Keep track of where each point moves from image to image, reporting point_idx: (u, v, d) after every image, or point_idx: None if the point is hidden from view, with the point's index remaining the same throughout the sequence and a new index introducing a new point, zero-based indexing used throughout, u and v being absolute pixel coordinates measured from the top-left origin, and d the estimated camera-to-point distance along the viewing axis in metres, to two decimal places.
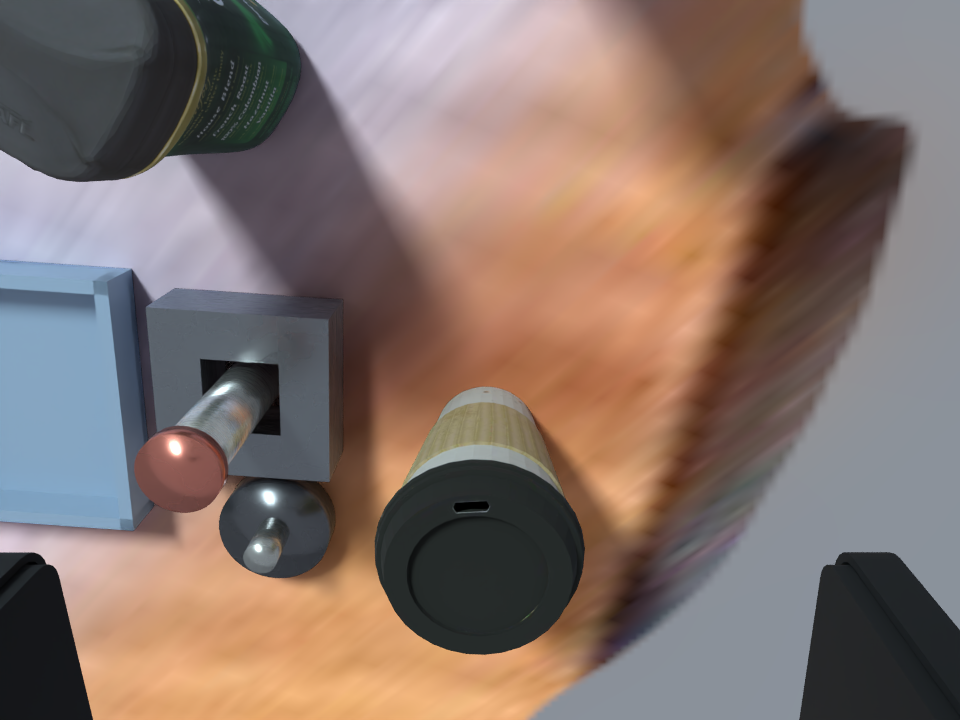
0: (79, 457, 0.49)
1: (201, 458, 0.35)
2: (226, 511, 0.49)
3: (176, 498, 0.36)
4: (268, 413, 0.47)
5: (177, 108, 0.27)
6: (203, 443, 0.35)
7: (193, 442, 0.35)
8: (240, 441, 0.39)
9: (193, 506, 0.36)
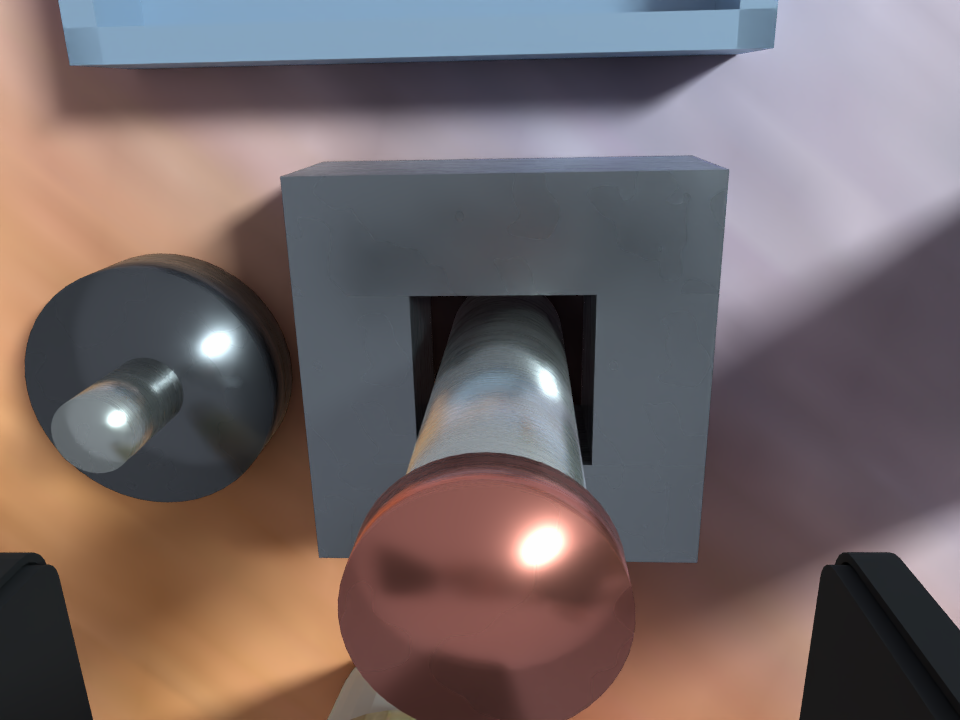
0: None
1: (552, 690, 0.11)
2: (176, 288, 0.21)
3: (391, 608, 0.10)
4: (428, 369, 0.22)
5: None
6: (600, 683, 0.11)
7: (610, 673, 0.11)
8: None
9: (368, 654, 0.11)
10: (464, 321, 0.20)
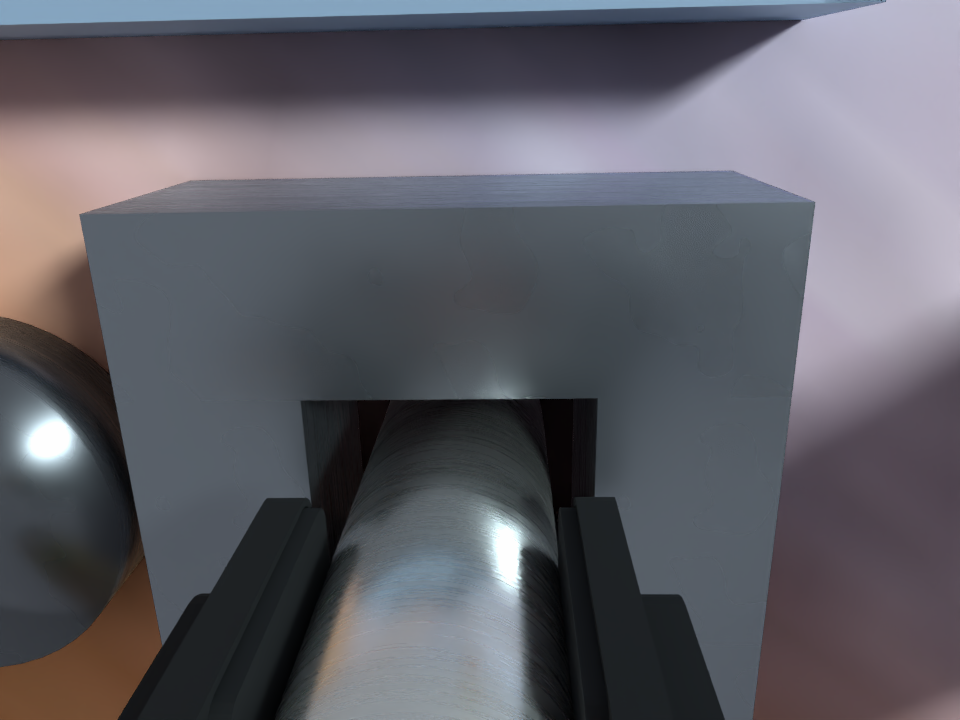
0: None
1: None
2: None
3: None
4: (351, 479, 0.15)
5: None
6: None
7: None
8: None
9: None
10: (394, 427, 0.13)
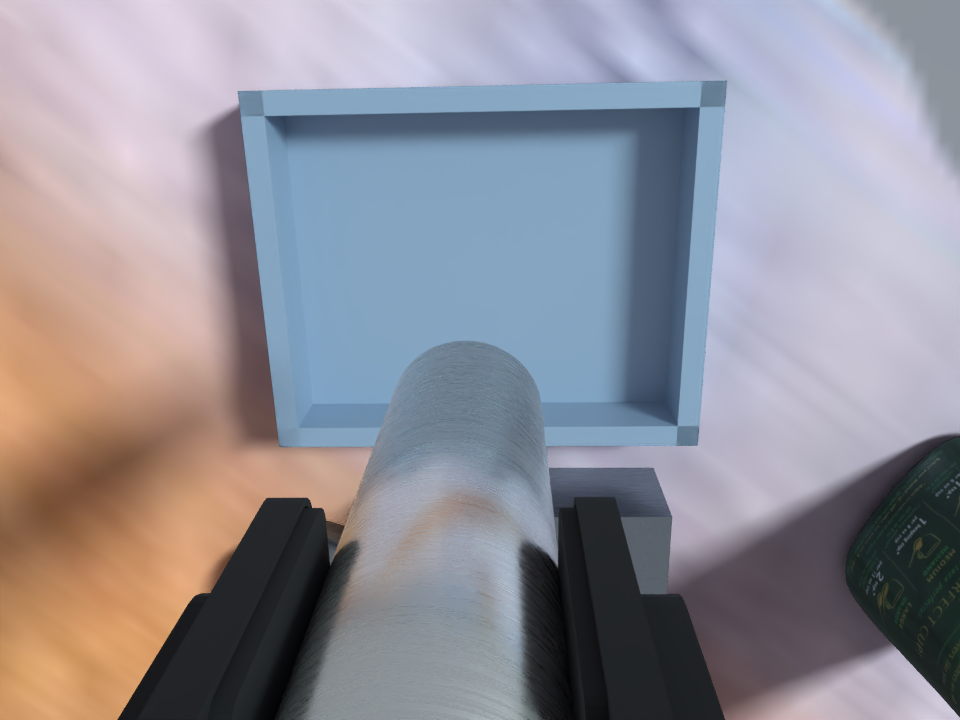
0: (373, 323, 0.31)
1: None
2: (329, 555, 0.33)
3: None
4: None
5: None
6: None
7: None
8: None
9: None
10: (399, 413, 0.13)
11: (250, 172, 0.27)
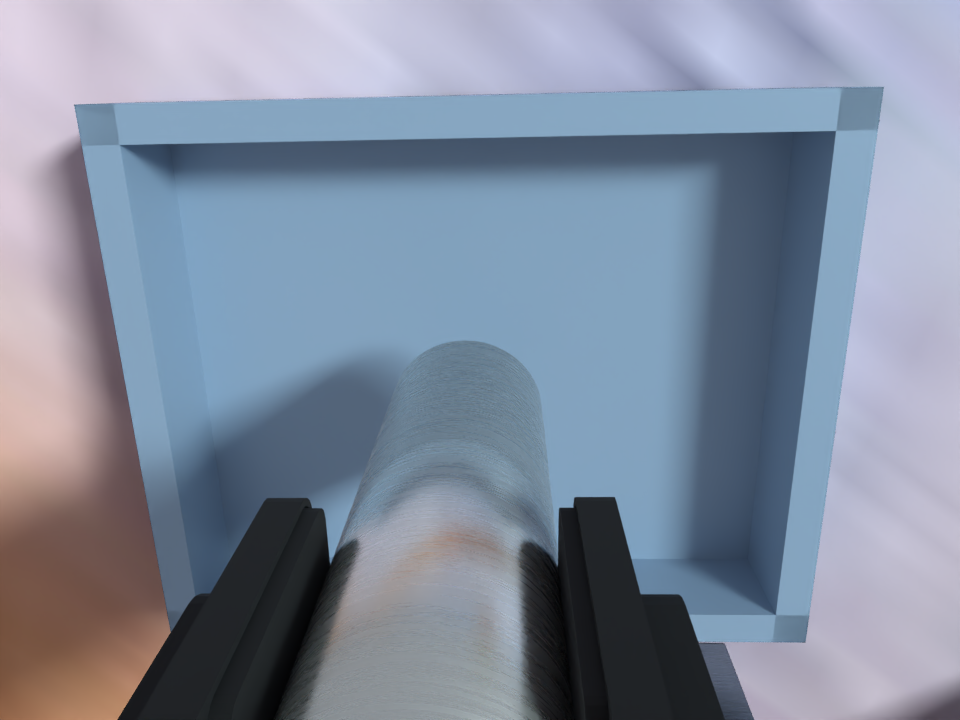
0: (315, 446, 0.21)
1: None
2: None
3: None
4: None
5: None
6: None
7: None
8: None
9: None
10: (398, 412, 0.13)
11: (102, 234, 0.17)
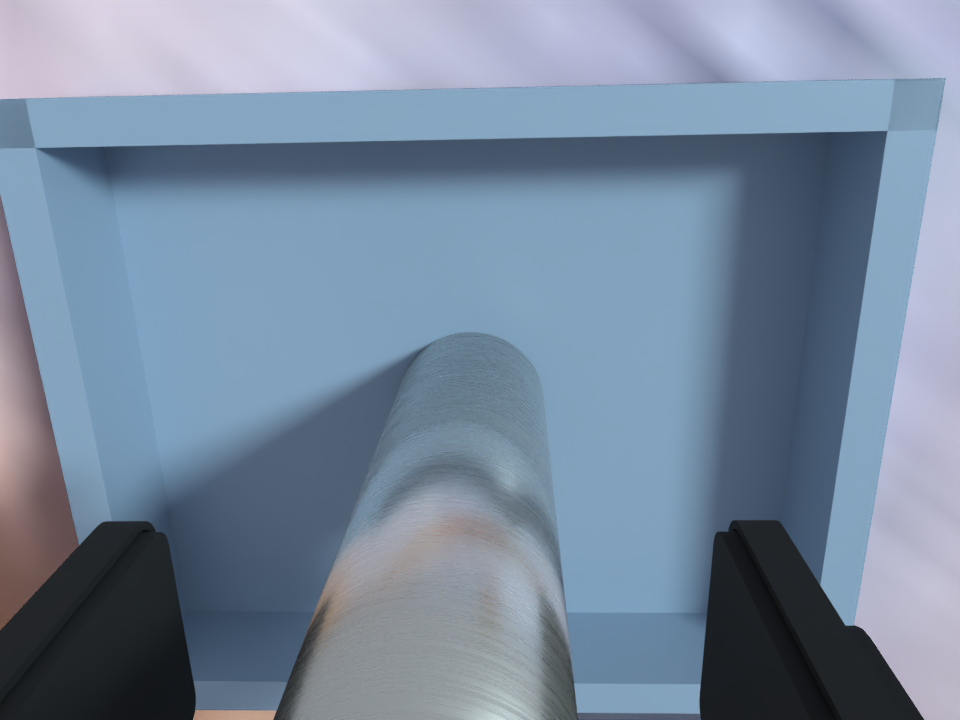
0: (280, 488, 0.18)
1: None
2: None
3: None
4: None
5: None
6: None
7: None
8: None
9: None
10: (407, 397, 0.14)
11: (18, 253, 0.14)
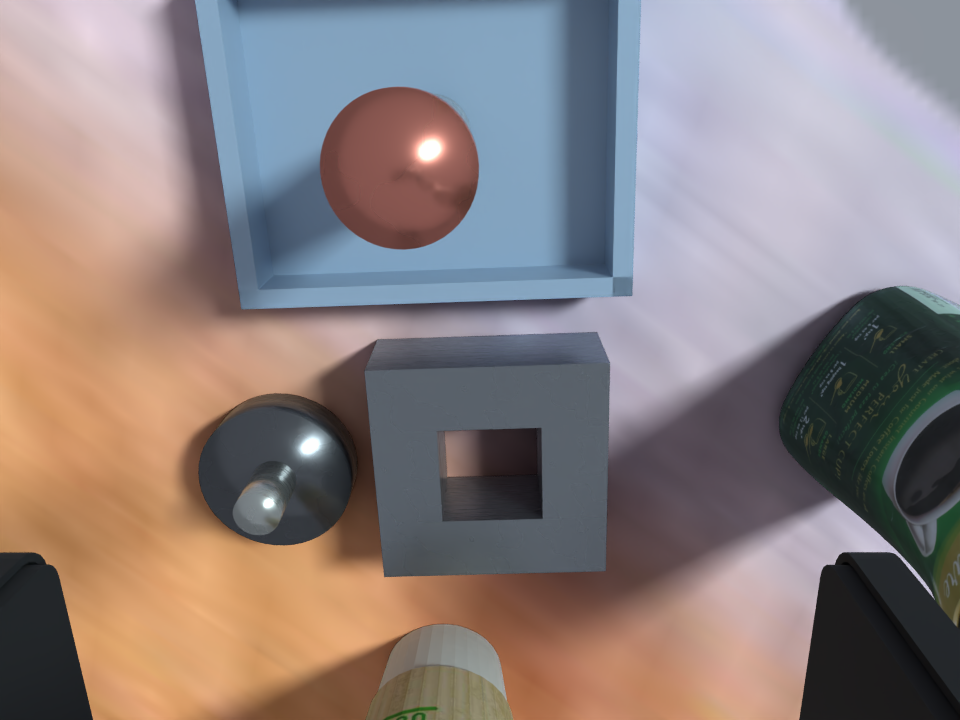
0: None
1: (438, 215, 0.20)
2: (293, 421, 0.35)
3: (348, 167, 0.20)
4: (444, 459, 0.36)
5: None
6: (465, 214, 0.20)
7: (468, 202, 0.20)
8: None
9: (337, 198, 0.20)
10: None
11: (203, 36, 0.28)
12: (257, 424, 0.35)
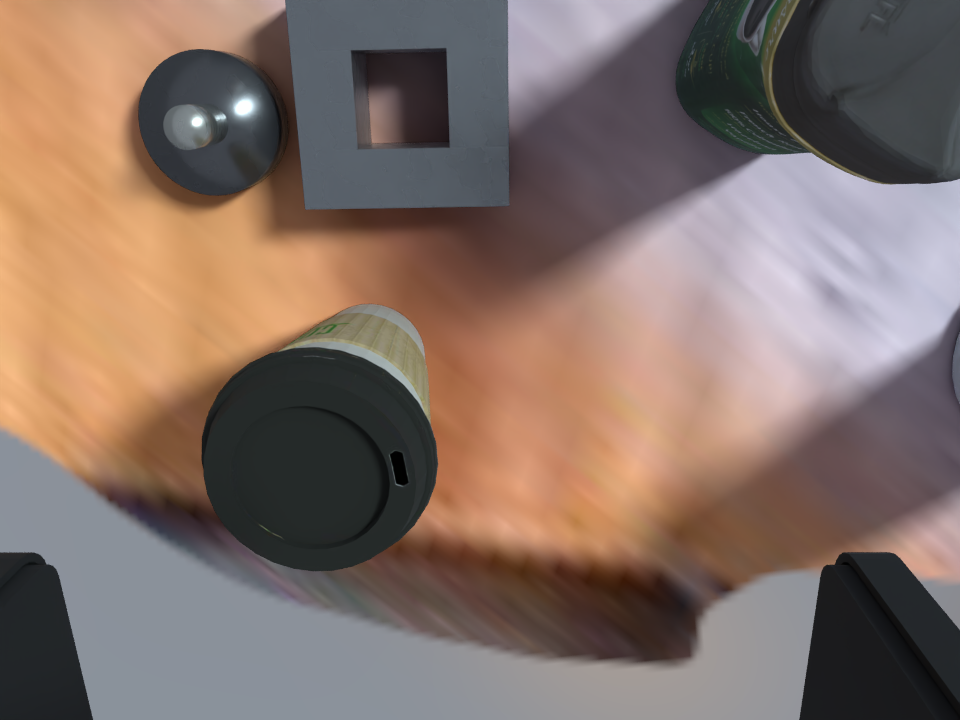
0: None
1: None
2: (225, 60, 0.38)
3: None
4: (365, 113, 0.39)
5: (852, 166, 0.25)
6: None
7: None
8: None
9: None
10: None
11: None
12: (192, 63, 0.38)
